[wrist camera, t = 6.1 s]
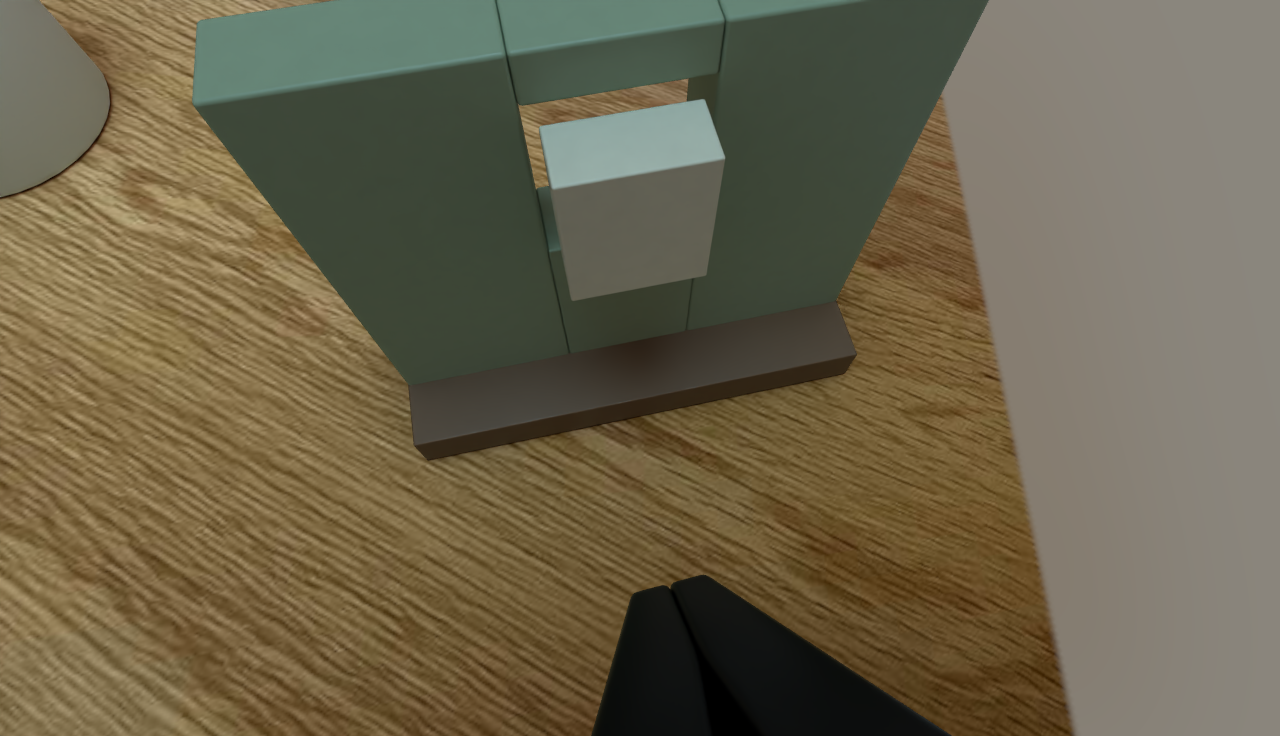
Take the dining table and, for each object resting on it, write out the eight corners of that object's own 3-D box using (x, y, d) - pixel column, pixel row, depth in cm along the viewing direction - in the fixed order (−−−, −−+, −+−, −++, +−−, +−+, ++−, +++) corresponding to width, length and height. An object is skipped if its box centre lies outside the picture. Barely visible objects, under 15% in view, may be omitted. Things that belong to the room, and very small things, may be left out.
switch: (706, 276, 16) (726, 157, 13) (571, 302, 16) (551, 188, 12) (691, 224, 17) (705, 97, 13) (560, 248, 17) (537, 125, 13)
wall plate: (845, 373, 23) (1055, 54, 12) (427, 460, 22) (182, 203, 10) (774, 187, 27) (882, -211, 15) (407, 254, 25) (203, -123, 14)
